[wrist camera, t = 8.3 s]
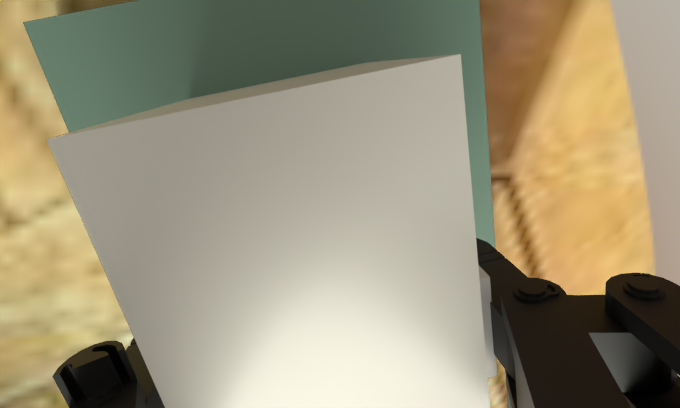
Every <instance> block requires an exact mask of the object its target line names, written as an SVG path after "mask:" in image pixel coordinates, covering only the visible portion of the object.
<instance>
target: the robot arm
mask: <svg viewBox="0 0 680 408" xmlns="http://www.w3.org/2000/svg"><path fill="white" fill-rule="evenodd" d="M476 243H477V255H478V267H479V279H480V291H481V303H482V315H483V327H484V339H485V351H486V363H487V375H488V378H489V377H493V376H497V364H496V357H497V358H498V360H499V361H500V363H501V364H502V365H503V367H504V368H505V371H506V386H507V401H508V408H680V377H679V376H678V375H677V374H679V375H680V286H678V285H677V284H675V283H673V282H671V281H669V280H666V279H664V278H661V277H657V276H653V275H650V274H645V273H642V274H640V273H627V274H620V275H617V276H614V277H611V278H610V279H609V280H608V281H607V282H606V293H605V295H567V294H566V293H565V291H564V290H563V289H562V288H561V287H560V286H559V285H557V284H555V283H553V282H551V281H548V280H543V279H539V278H528V277H527V276H526V275H524V274H523V273H522V272H521V271H520V270H519V269H518V268H517V267H515V266H514V265H513V264H512V263H511V262H510V261H509V260H507V259H505V257H504V256H503V255H502V254H501V253H500V252H497V250H496V249H495V248H494V247H493V246H492V245H491V244H489V243H488V242H486V241H483V240H481V239H478V238H476ZM130 344H131V346H128V348H127V350H126V351H125V349H124V346H123V344H122V343H120V342H118V341H105V342H102V343H98V344H95V345H92V346H90V347H88V348H86V349H84V350H81V351H80V352H78V353H77V354H75V355H73V356H72V357H70V358H69V359H68V360H66V361H65V362H64V363H63V364H62V365H61V366H60V367H59V368H58V369H57V371H56V372H55V374H54V375H53V378H54V380H55V382H56V384H57V386H58V387H59V389H60V391H61V393H62V395H63V397H64V398H65V400H66V402H67V404H68V406H69V408H165V407H164V404H163V402H162V400H161V397H160V395H159V393H158V391H157V388H156V386H155V384H154V382H153V379H152V377H151V375H150V373H149V370H148V368H147V366H146V364H145V361H144V359H143V357H142V355H141V352H140V350H139V348H138V345H137V343H136V341H135V339H134V338H133V340H132V341H131V343H130Z"/></svg>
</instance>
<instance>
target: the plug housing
mask: <svg viewBox="0 0 680 408" xmlns="http://www.w3.org/2000/svg"><path fill="white" fill-rule="evenodd" d="M46 140H47V142H48V144H49V146H50V149H51V151H52V153H53V155H54V158H55V160H56V162H57V165H58V167H59V169H60V171H61V174H62V176H63V178H64V180H65V183H66V185H67V187H68V189H69V192H70V194H71V196H72V198H73V201H74V203H75V205H76V208H77V210H78V212H79V214H80V217H81V219H82V221H83V223H84V226H85V228H86V230H87V232H88V235H89V237H90V239H91V241H92V244H93V246H94V248H95V250H96V253H97V255H98V257H99V260H100V262H101V264H102V266H103V269H104V271H105V273H106V275H107V278H108V280H109V282H110V284H111V287H112V289H113V291H114V293H115V296H116V298H117V300H118V302H119V305H120V307H121V309H122V312H123V314H124V316H125V318H126V321H127V323H128V325H129V327H130V330H131V332H132V334H133V336H134V339H135V341H136V343H137V345H138V348H139V350H140V352H141V355H142V357H143V359H144V361H145V364H146V366H147V368H148V370H149V373H150V375H151V377H152V379H153V382H154V384H155V386H156V388H157V391H158V393H159V395H160V397H161V400H162V402H163V404H164V407H165V408H490V399H489V387H488V375H487V363H486V351H485V339H484V327H483V315H482V303H481V291H480V279H479V267H478V255H477V243H476V231H475V219H474V207H473V195H472V183H471V171H470V159H469V147H468V135H467V123H466V111H465V99H464V87H463V75H462V63H461V54H455V55H444V56H433V57H422V58H411V59H400V60H389V61H378V62H366V63H362V64H357V65H352V66H347V67H342V68H337V69H332V70H327V71H322V72H318V73H313V74H308V75H303V76H298V77H293V78H288V79H283V80H278V81H274V82H269V83H264V84H259V85H254V86H249V87H244V88H239V89H234V90H229V91H225V92H220V93H215V94H210V95H205V96H200V97H195V98H190V99H186V100H183V101H179V102H176V103H172V104H169V105H165V106H162V107H158V108H154V109H151V110H147V111H144V112H140V113H137V114H133V115H130V116H126V117H123V118H119V119H116V120H112V121H109V122H105V123H102V124H98V125H95V126H91V127H87V128H84V129H80V130H77V131H73V132H70V133H66V134H63V135H59V136H56V137H52V138H49V139H46Z"/></svg>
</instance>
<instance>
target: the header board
mask: <svg viewBox="0 0 680 408" xmlns="http://www.w3.org/2000/svg"><path fill="white" fill-rule="evenodd" d="M23 24H24V26H25V28H26V31H27V33H28V36H29V38H30V40H31V43H32V45H33V47H34V50H35V52H36V55H37V57H38V59H39V62H40V64H41V67H42V69H43V71H44V74H45V76H46V78H47V81H48V83H49V86H50V88H51V90H52V93H53V95H54V97H55V100H56V102H57V105H58V107H59V109H60V112H61V114H62V116H63V119H64V121H65V124H66V126H67V128H68V131H69V133H70V132H73V131H77V130H80V129H84V128H87V127H91V126H95V125H98V124H102V123H105V122H109V121H112V120H116V119H119V118H123V117H126V116H130V115H133V114H137V113H140V112H144V111H147V110H151V109H154V108H158V107H162V106H165V105H169V104H172V103H176V102H179V101H183V100H186V99H190V98H195V97H200V96H205V95H210V94H215V93H220V92H225V91H229V90H234V89H239V88H244V87H249V86H254V85H259V84H264V83H269V82H274V81H278V80H283V79H288V78H293V77H298V76H303V75H308V74H313V73H318V72H322V71H327V70H332V69H337V68H342V67H347V66H352V65H357V64H362V63H366V62H378V61H389V60H400V59H411V58H422V57H433V56H444V55H455V54H461V63H462V75H463V87H464V99H465V111H466V123H467V135H468V147H469V159H470V171H471V183H472V195H473V207H474V219H475V231H476V238H478V239H481V240H483V241H486V242H488V243H489V244H491V245H492V246H493V247H494V248H495V235H494V219H493V204H492V189H491V174H490V158H489V143H488V128H487V113H486V97H485V82H484V67H483V52H482V37H481V21H480V6H479V0H136V1H131V2H126V3H121V4H116V5H110V6H105V7H100V8H95V9H90V10H84V11H79V12H74V13H69V14H64V15H59V16H53V17H48V18H43V19H38V20H33V21H27V22H23Z"/></svg>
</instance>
